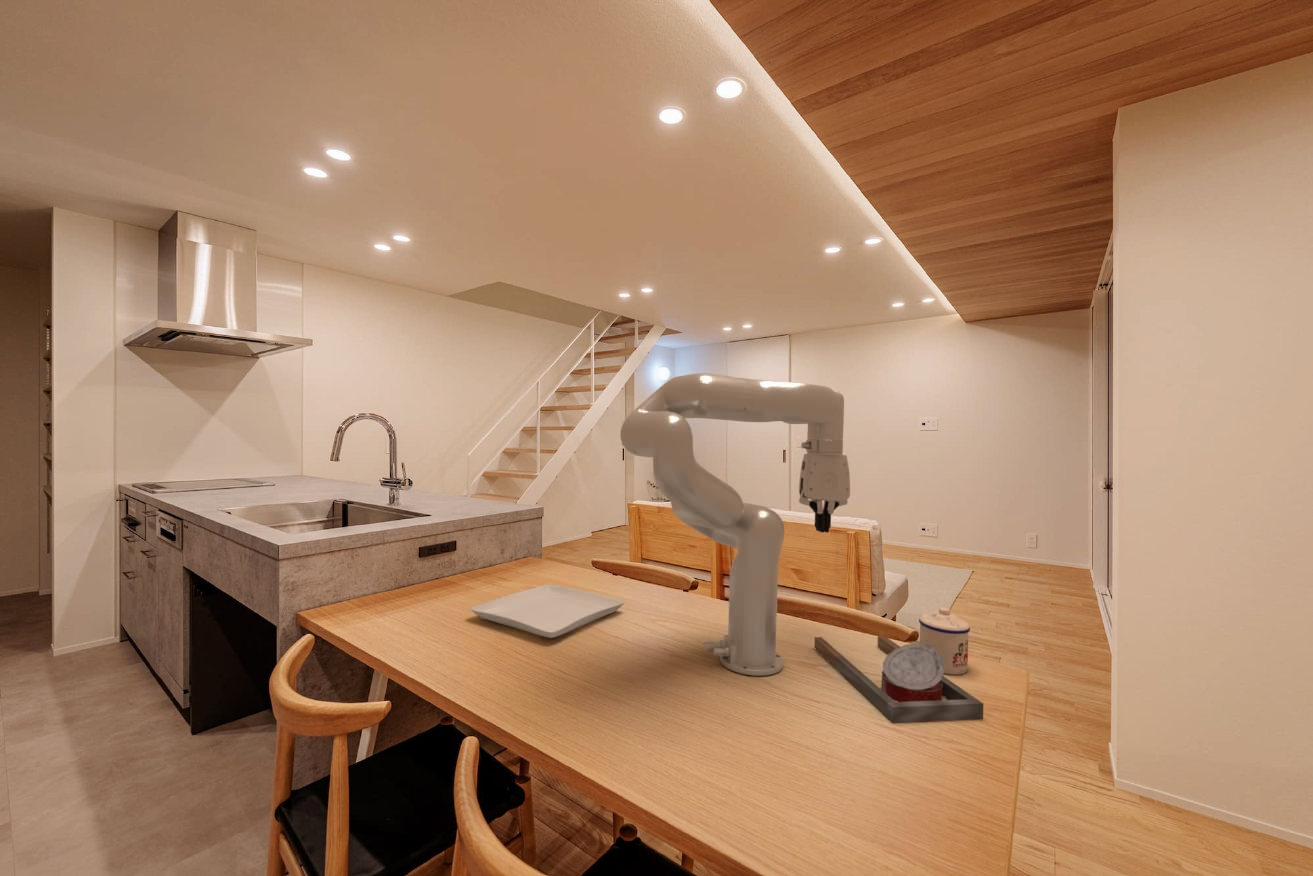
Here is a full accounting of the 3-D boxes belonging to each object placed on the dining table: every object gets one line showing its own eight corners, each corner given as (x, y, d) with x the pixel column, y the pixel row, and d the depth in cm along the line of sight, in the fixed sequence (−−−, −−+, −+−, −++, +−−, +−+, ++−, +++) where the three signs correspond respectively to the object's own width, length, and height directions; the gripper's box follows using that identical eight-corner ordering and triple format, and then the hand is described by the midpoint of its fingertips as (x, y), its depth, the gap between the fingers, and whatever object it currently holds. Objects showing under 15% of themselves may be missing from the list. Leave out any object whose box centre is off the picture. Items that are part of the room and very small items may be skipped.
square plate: (627, 614, 134) (627, 599, 134) (551, 649, 111) (551, 631, 111) (548, 595, 148) (548, 581, 148) (467, 622, 125) (467, 606, 125)
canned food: (943, 729, 92) (965, 691, 87) (885, 721, 92) (905, 683, 87) (918, 673, 102) (937, 637, 97) (867, 666, 102) (883, 630, 97)
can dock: (892, 722, 85) (892, 707, 85) (814, 648, 114) (814, 637, 114) (983, 718, 87) (983, 703, 87) (883, 647, 116) (884, 635, 116)
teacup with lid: (962, 680, 100) (964, 619, 100) (912, 665, 107) (913, 608, 107) (976, 661, 109) (978, 605, 109) (928, 649, 116) (930, 596, 115)
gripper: (798, 447, 111) (796, 534, 111) (865, 449, 113) (863, 534, 113) (785, 446, 119) (783, 528, 119) (848, 448, 121) (846, 528, 121)
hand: (822, 531), depth 116 cm, fingers closed
